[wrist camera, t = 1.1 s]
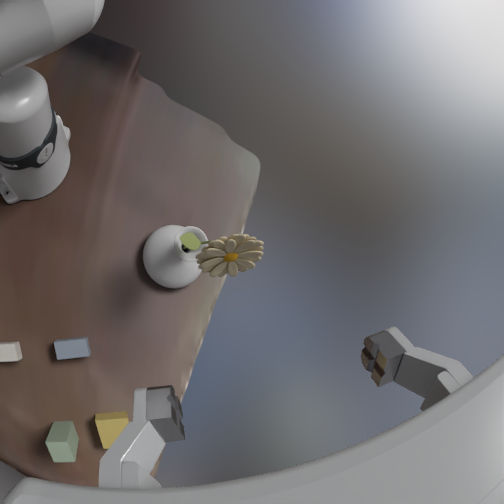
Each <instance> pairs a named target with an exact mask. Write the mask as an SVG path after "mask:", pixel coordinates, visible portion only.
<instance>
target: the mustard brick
mask: <svg viewBox="0 0 504 504" xmlns="http://www.w3.org/2000/svg"><path fill="white" fill-rule="evenodd" d="M95 422H96V426H97V429H98V432H99V436H100V439H101V442H102V445H103V448H104V449H109V448H110V447H111V445H112V444H113V443H114V441H115V440H116V439H117V437H118V436H119V435H120V433H121V432H122V431H123V429H124V428H125V427H126V425H127V424H128V423H129V420H128V416H127V412H116V413H103V414H96V416H95Z"/></svg>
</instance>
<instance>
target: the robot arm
mask: <svg viewBox="0 0 504 504" xmlns="http://www.w3.org/2000/svg"><path fill="white" fill-rule="evenodd" d="M103 5H104V0H0V193H1V194H2V196H3V198H4V199H5V201H6V202H7V203H8V204H13V203H16V202H18V201H20V200H24V199H27V200H32V199H38V198H41V197H44V196H46V195H48V194H49V193H51V192H52V191H53V190H55V189H56V188H57V187H58V186H59V184H60V183H61V182H62V181H63V179H64V177H65V176H66V174H67V171H68V168H69V164H70V151H69V146H68V143H69V139H70V130H69V128H67V127H65V126H63V124H62V121H61V118H60V116H56V114H55V111H54V109H53V107H52V105H51V104H50V100H49V94H48V88H47V83H46V81H45V79H44V78H43V76H42V75H41V74H39V73H38V72H37V71H35V70H33V69H31V68H29V67H24V65H26V64H28V63H30V62H32V61H34V60H36V59H38V58H41V57H43V56H45V55H47V54H50V53H52V52H54V51H56V50H58V49H60V48H61V47H63V46H65V45H67V44H68V43H70V42H72V41H74V40H75V39H77V38H79V37H81V36H83V35H84V34H86V33H88V32H89V31H90V30H91V29H92V28H93V26H94V25H95V23H96V22H97V20H98V18H99V16H100V14H101V11H102V9H103ZM8 191H9V193H8V194H7V195H6V193H7V192H8ZM364 345H365V348H364V349H363V350H362V354H361V360H362V363H363V366H364V367H365V369H366V370H368V371H370V372H372V374H371V378H372V379H373V380H374V382H375V383H376V385H377V386H378V387H380V386H382V385H385V384H387V383H389V382H392V381H394V382H396V383H397V384H399V385H401V386H403V387H405V388H407V389H408V390H410V391H412V392H414V393H416V394H418V395H420V396H422V397H424V398H425V400H424V402H423V403H422V405H421V408H420V409H421V410H422V412H420V413H419V414H417V415H416V416H413V417H412V418H410V419H408V420H406V421H404V422H402V423H400V424H398V425H396V426H394V427H393V428H390V429H388V430H386V431H384V432H382V433H380V434H378V435H376V436H374V437H371V438H370V439H367V440H365V441H362V442H360V443H358V444H355V445H353V446H350V447H348V448H345V449H343V450H340V451H338V452H335V453H332V454H329V455H326V456H324V457H321V458H318V459H315V460H312V461H309V462H306V463H302V464H299V465H296V466H292V467H289V468H285V469H281V470H278V471H274V472H270V473H265V474H261V475H257V476H253V477H247V478H242V479H237V480H231V481H226V482H219V483H212V484H205V485H197V486H186V487H175V488H161V485H160V484H159V483H158V482H157V481H156V480H155V479H154V478H153V477H152V476H150V475H149V474H150V472H151V470H152V468H153V466H154V465H155V463H156V461H157V459H158V457H159V455H160V453H161V451H162V449H163V447H164V446H165V444H166V443H165V442H172V441H180V440H185V433H184V426H183V424H182V422H181V420H182V418H183V413H182V408H181V404H180V401H179V399H178V397H177V396H175V390H174V388H173V386H172V385H168V386H158V387H148V388H138V389H135V391H134V402H133V422H129V423H128V424H127V425H126V427H125V428H124V429H123V431H122V432H121V433H120V435H119V436H118V437H117V439H116V440H115V441H114V443H113V444H112V445H111V447H110V448H109V449H108V450H107V452H106V453H105V454H104V456H103V457H102V458H101V460H100V469H99V487H89V486H80V485H71V484H64V483H58V482H52V481H47V480H42V479H37V478H32V477H25V478H23V479H22V480H21V481H19V482H18V483H17V484H16V485H15V486H14V487H13V488H12V489H11V490H10V491H9V492H8V493H7V495H6V496H5V498H4V500H3V504H504V354H503V355H502V356H501V357H500V358H498V359H497V360H496V361H495V362H494V363H492V364H491V365H490V366H489V367H487V368H486V369H485V370H483V371H482V372H481V373H480V374H478V375H477V376H476V377H473V376H472V375H471V374H470V373H469V372H468V371H467V370H466V369H465V367H464V366H463V365H462V364H461V363H460V362H459V361H456V360H454V359H450V358H448V357H445V356H442V355H439V354H436V353H433V352H430V351H428V350H424V349H422V348H419V347H417V348H415V347H414V346H413V345H412V344H411V343H410V342H409V340H408V339H407V338H406V337H405V336H404V335H403V334H402V333H401V332H400V331H399V330H398V329H397V328H396V327H392V328H390V329H387V330H384V331H381V332H378V333H376V334H373V335H370V336H368V337H366V338H365V339H364Z"/></svg>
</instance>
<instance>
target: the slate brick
mask: <svg viewBox="0 0 504 504" xmlns="http://www.w3.org/2000/svg"><path fill="white" fill-rule="evenodd" d="M54 346H55V351H56V355H57V360H59V359H69V358H78V357H86V356H90V354H91V352H90V348H89V343H88V338H87V337H79V338H70V339H61V340H56V341H55V342H54Z"/></svg>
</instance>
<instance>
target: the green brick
mask: <svg viewBox="0 0 504 504" xmlns="http://www.w3.org/2000/svg"><path fill="white" fill-rule="evenodd" d="M78 441H79V438H78V435H77V433H76V430H75V427H74V424H73V421H62V422H53V425H52V427H51V430H50V432H49V434H48V437H47V439H46V442H45V443H46V445H47V447H48V450H49V452H50V454H51V457H52V459H53V461H54V462H75V459H76V453H77V447H78Z"/></svg>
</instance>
